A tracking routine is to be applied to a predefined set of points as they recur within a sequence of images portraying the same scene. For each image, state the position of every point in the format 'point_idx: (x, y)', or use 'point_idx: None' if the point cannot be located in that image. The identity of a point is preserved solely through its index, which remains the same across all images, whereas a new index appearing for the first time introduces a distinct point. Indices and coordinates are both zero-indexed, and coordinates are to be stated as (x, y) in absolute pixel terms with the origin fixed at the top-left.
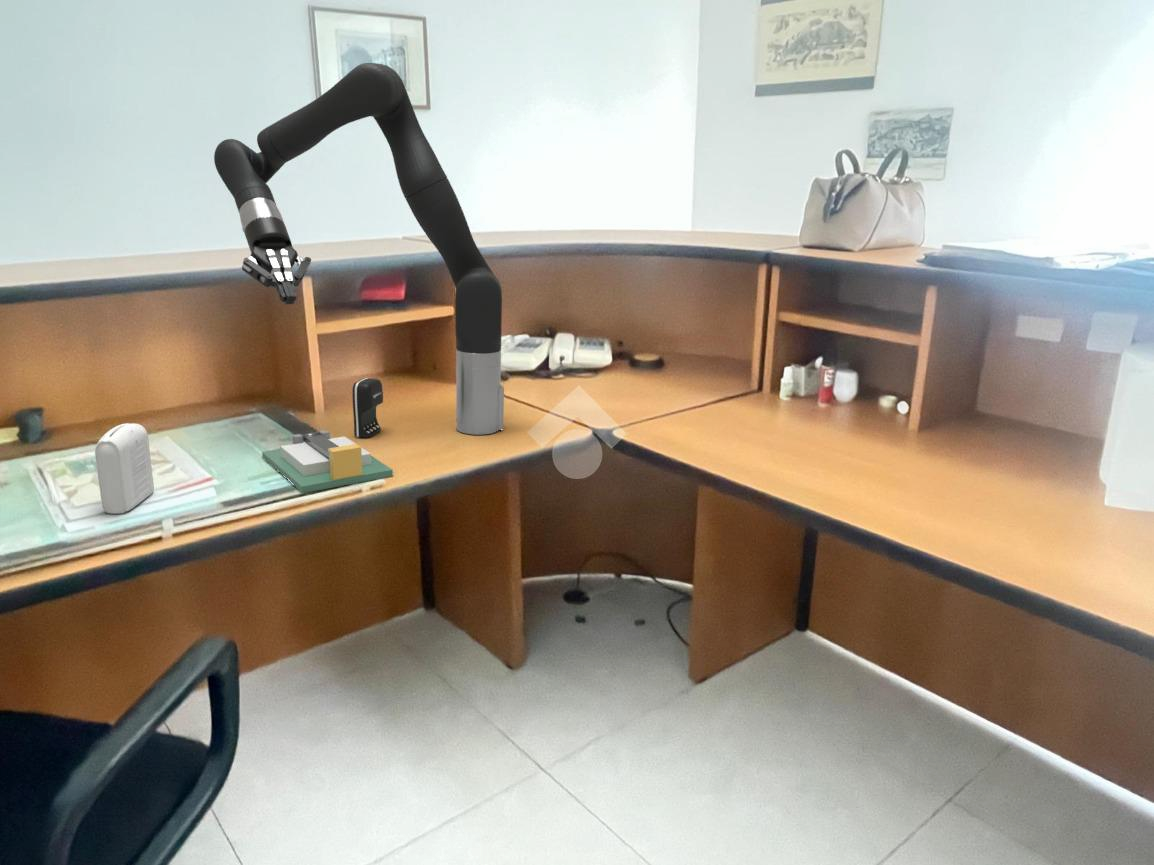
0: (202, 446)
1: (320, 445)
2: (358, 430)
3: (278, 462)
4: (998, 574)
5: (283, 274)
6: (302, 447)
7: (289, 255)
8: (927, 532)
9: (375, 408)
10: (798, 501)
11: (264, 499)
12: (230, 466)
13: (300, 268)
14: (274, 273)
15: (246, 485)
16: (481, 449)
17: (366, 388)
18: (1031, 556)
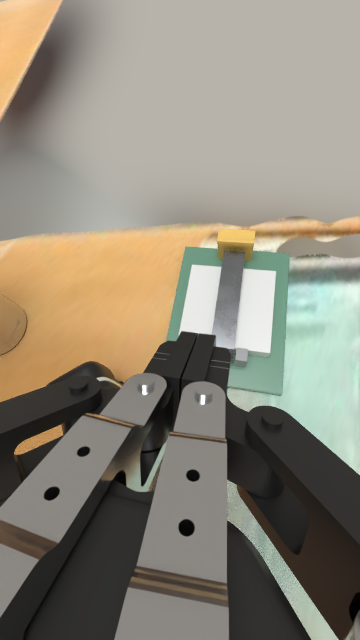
0: None
1: (236, 299)
2: None
3: (280, 337)
4: (51, 13)
5: (137, 468)
6: (247, 330)
7: None
8: (18, 42)
9: None
10: (13, 85)
11: (328, 264)
12: (330, 389)
13: (8, 421)
14: (224, 436)
15: (333, 311)
16: (60, 268)
17: (93, 363)
18: (20, 17)
